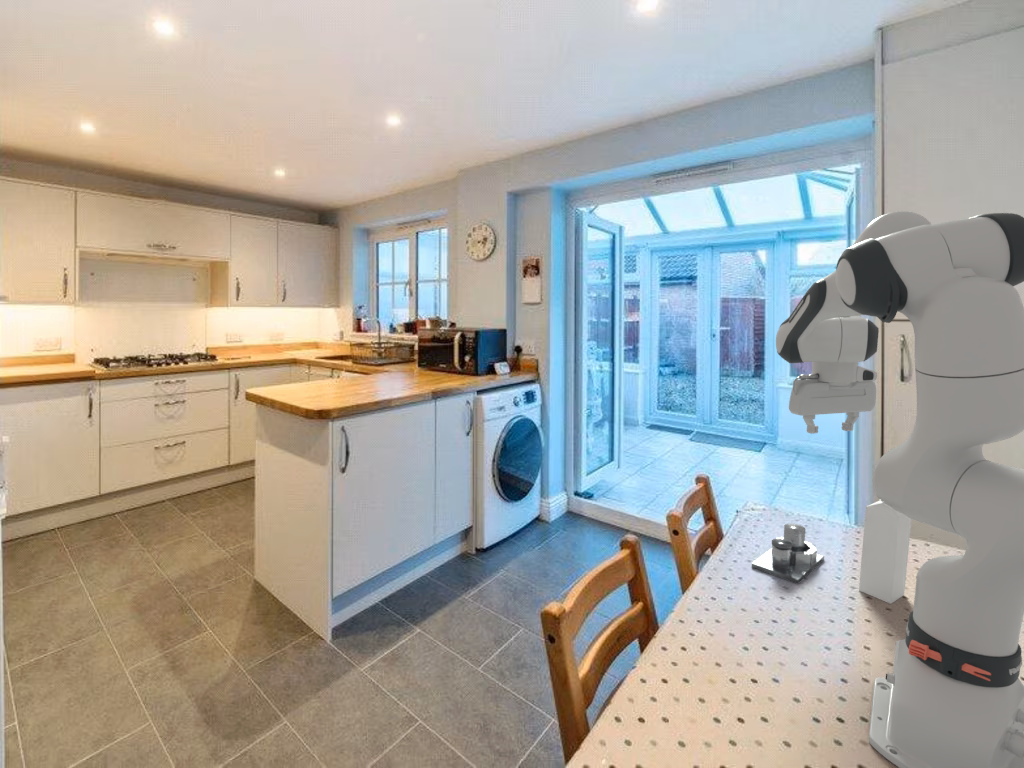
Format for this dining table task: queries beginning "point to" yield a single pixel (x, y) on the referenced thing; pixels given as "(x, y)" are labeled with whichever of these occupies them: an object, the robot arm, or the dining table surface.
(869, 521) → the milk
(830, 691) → the dining table surface
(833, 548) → the dining table surface
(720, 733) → the dining table surface
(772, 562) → the flange
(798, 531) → the grey cylindrical peg
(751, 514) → the dining table surface
